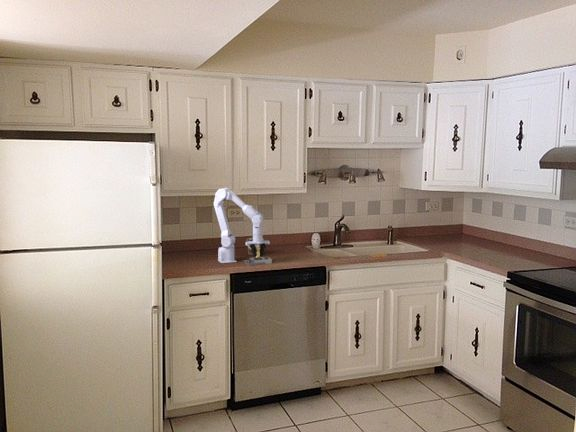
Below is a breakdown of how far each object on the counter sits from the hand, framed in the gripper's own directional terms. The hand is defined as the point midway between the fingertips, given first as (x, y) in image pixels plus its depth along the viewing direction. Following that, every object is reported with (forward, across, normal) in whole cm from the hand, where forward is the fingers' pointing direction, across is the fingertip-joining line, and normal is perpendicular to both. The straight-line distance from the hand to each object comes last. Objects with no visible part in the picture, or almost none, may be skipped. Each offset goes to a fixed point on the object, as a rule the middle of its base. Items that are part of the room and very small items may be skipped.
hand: (257, 256), depth 305 cm
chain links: (+4, 0, 0) cm, 4 cm away
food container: (+4, +9, +26) cm, 28 cm away
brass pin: (+2, 0, 0) cm, 3 cm away
